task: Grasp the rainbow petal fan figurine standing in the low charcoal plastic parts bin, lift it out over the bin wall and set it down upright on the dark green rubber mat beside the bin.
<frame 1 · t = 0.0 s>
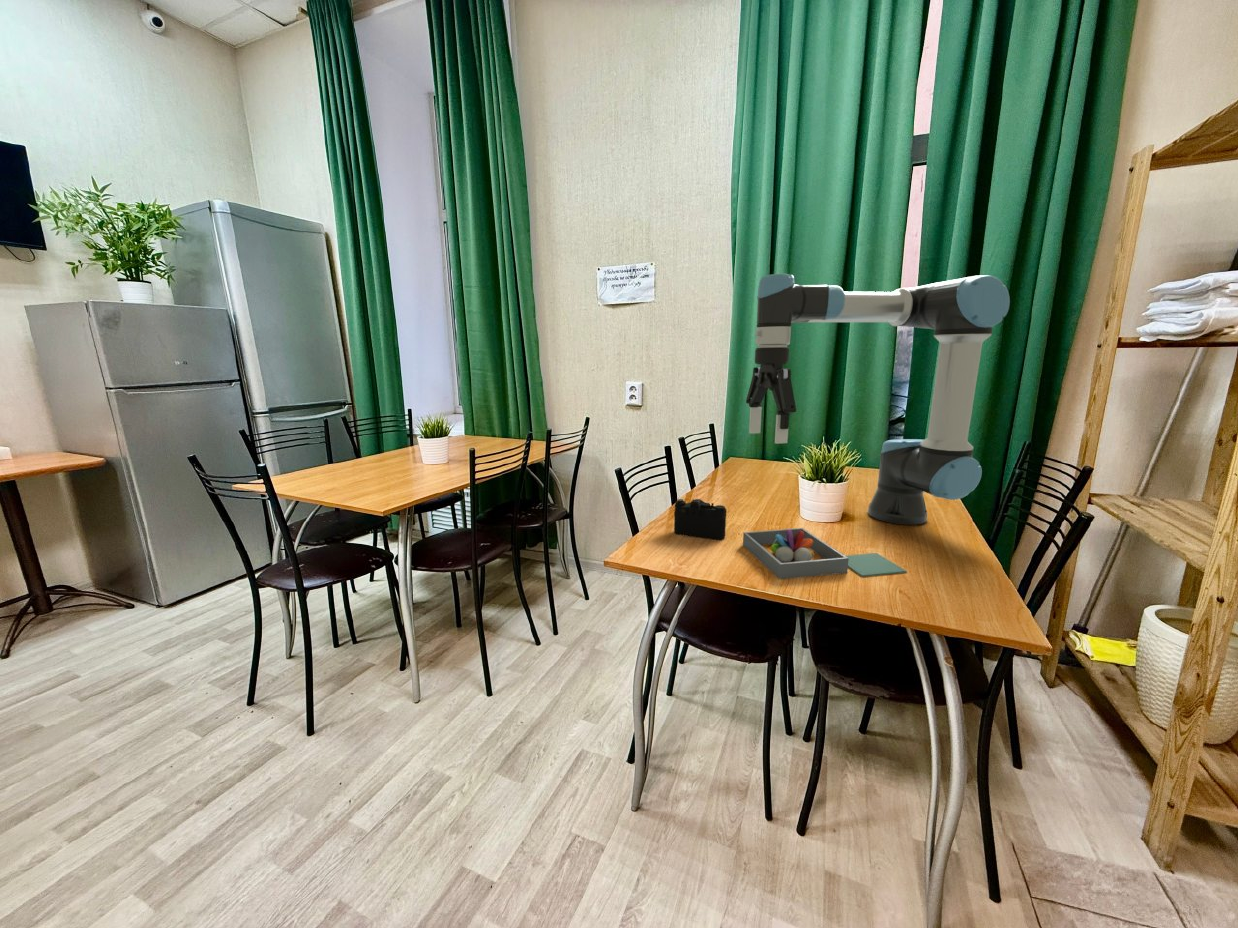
hand: (767, 438, 117), 28 cm above the table, fingers open, 13 cm apart
mat: (869, 565, 112), on the table
bin: (791, 558, 116), on the table
rainbow petal fan figurine: (791, 559, 116), resting in bin
camera: (702, 532, 134), on the table
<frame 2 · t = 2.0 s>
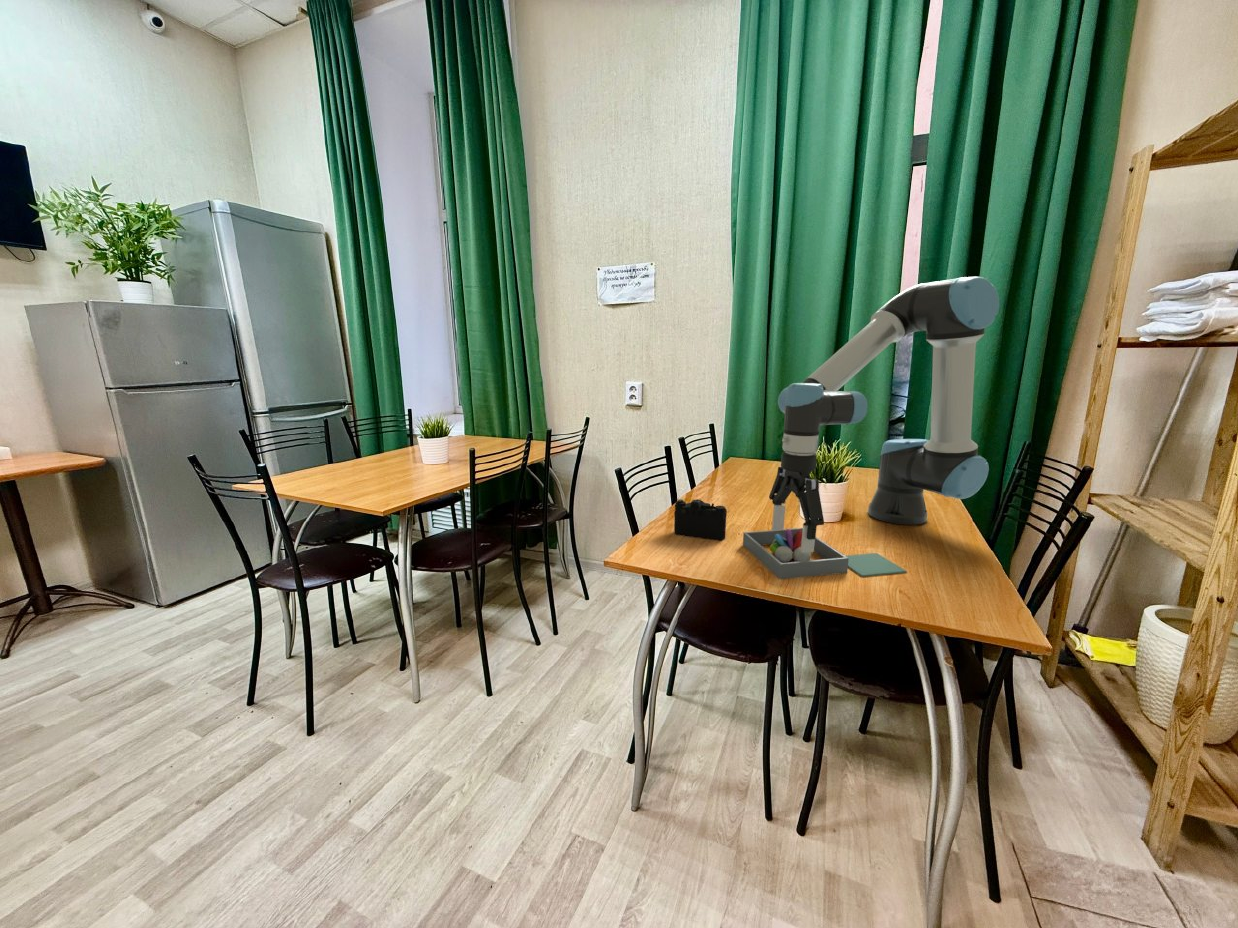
hand: (791, 540, 115), 5 cm above the table, fingers open, 13 cm apart
nothing on the table moved.
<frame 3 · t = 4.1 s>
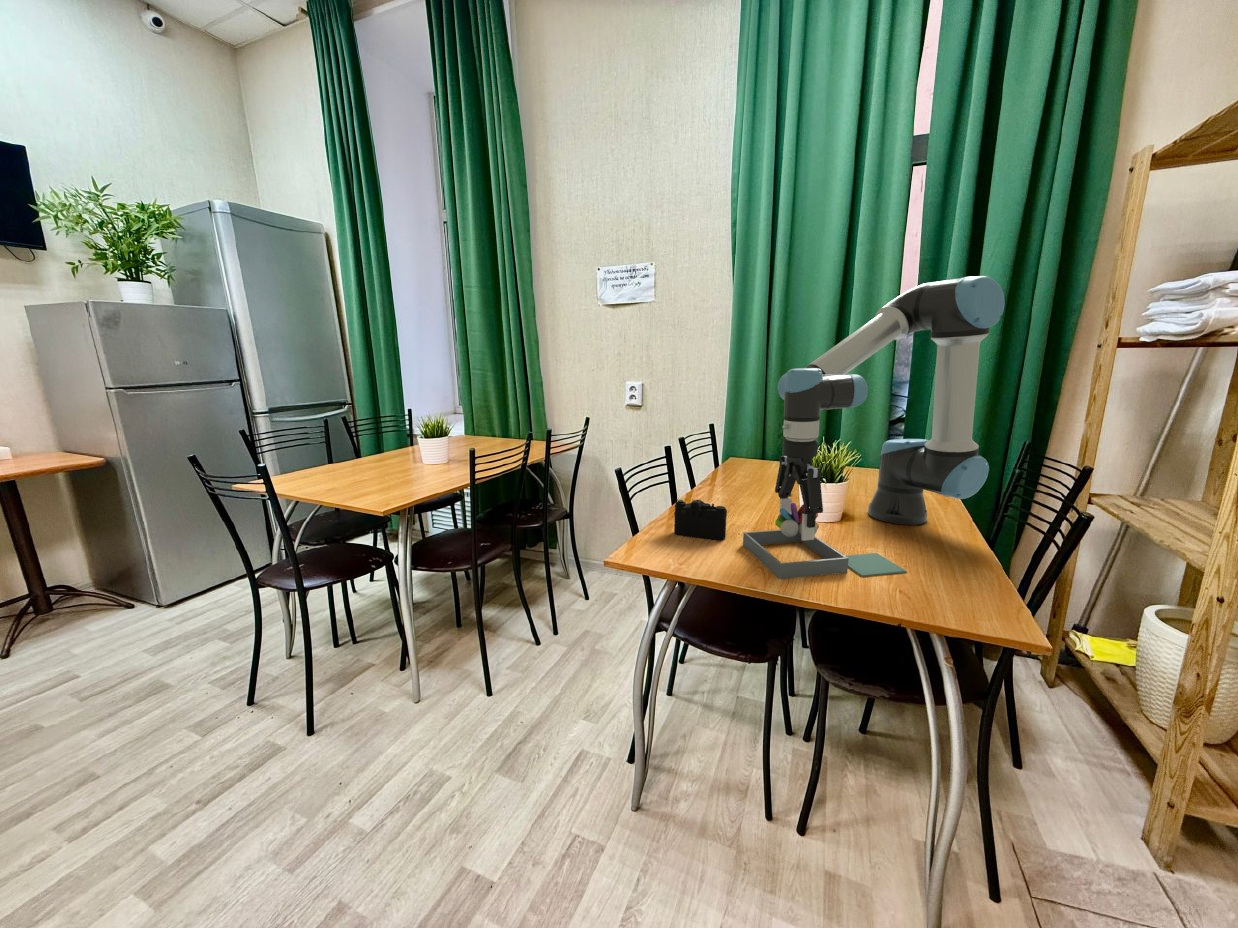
hand: (795, 531, 115), 7 cm above the table, fingers closed on rainbow petal fan figurine, 10 cm apart
rainbow petal fan figurine: (796, 533, 115), point 6 cm above the table, touching gripper
everything else where it was.
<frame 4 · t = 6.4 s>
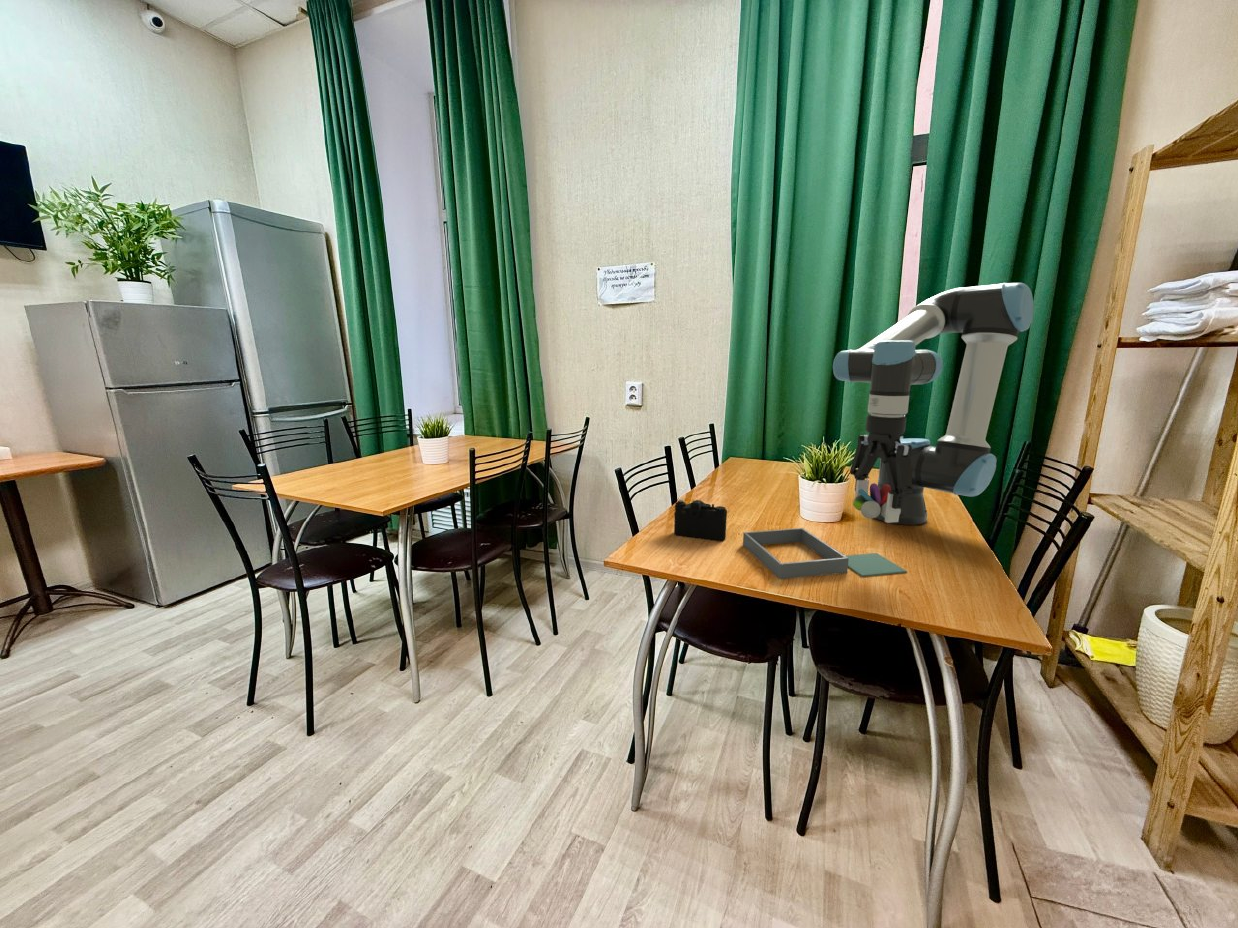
hand: (875, 514, 109), 12 cm above the table, fingers closed on rainbow petal fan figurine, 10 cm apart
rainbow petal fan figurine: (875, 515, 109), point 12 cm above the table, touching gripper
everything else where it was.
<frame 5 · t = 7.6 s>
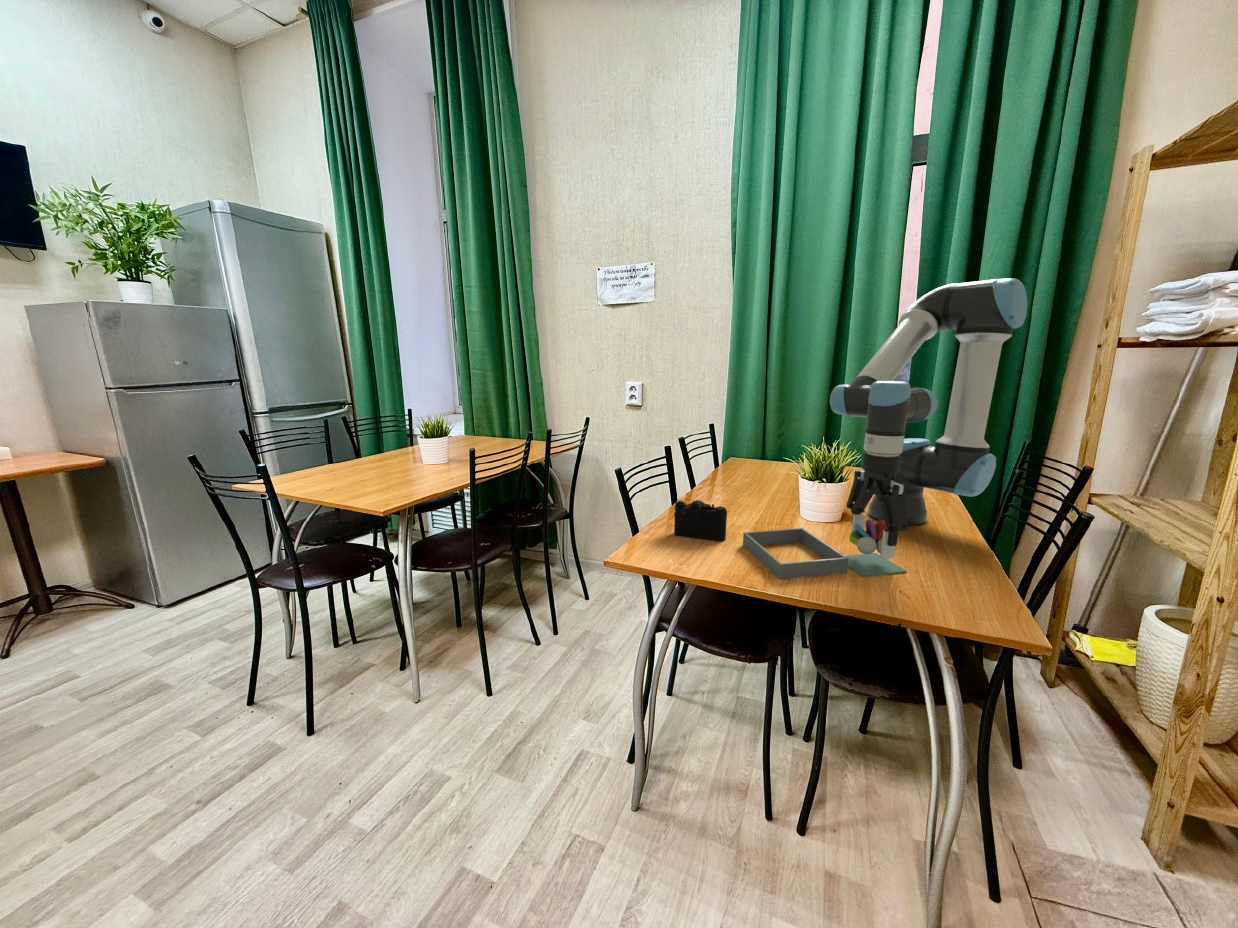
hand: (870, 548, 111), 4 cm above the table, fingers closed on rainbow petal fan figurine, 10 cm apart
rainbow petal fan figurine: (871, 550, 111), point 4 cm above the table, touching gripper
when the fingers open (1 cm above the table, at t = 8.8 s): rainbow petal fan figurine stays where it is, resting on mat.
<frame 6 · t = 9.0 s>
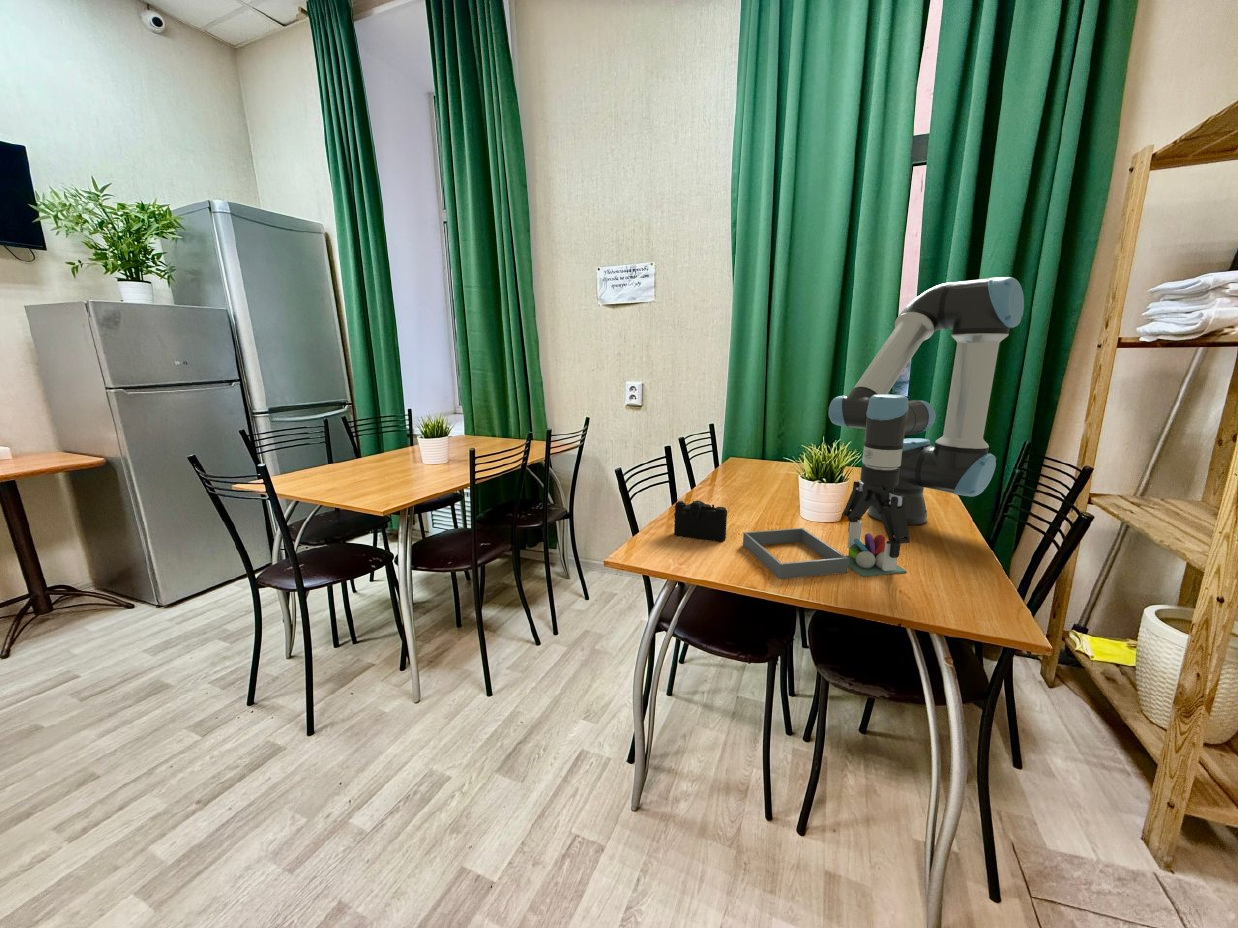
hand: (870, 558, 112), 2 cm above the table, fingers open, 12 cm apart
rainbow petal fan figurine: (870, 564, 112), resting on mat
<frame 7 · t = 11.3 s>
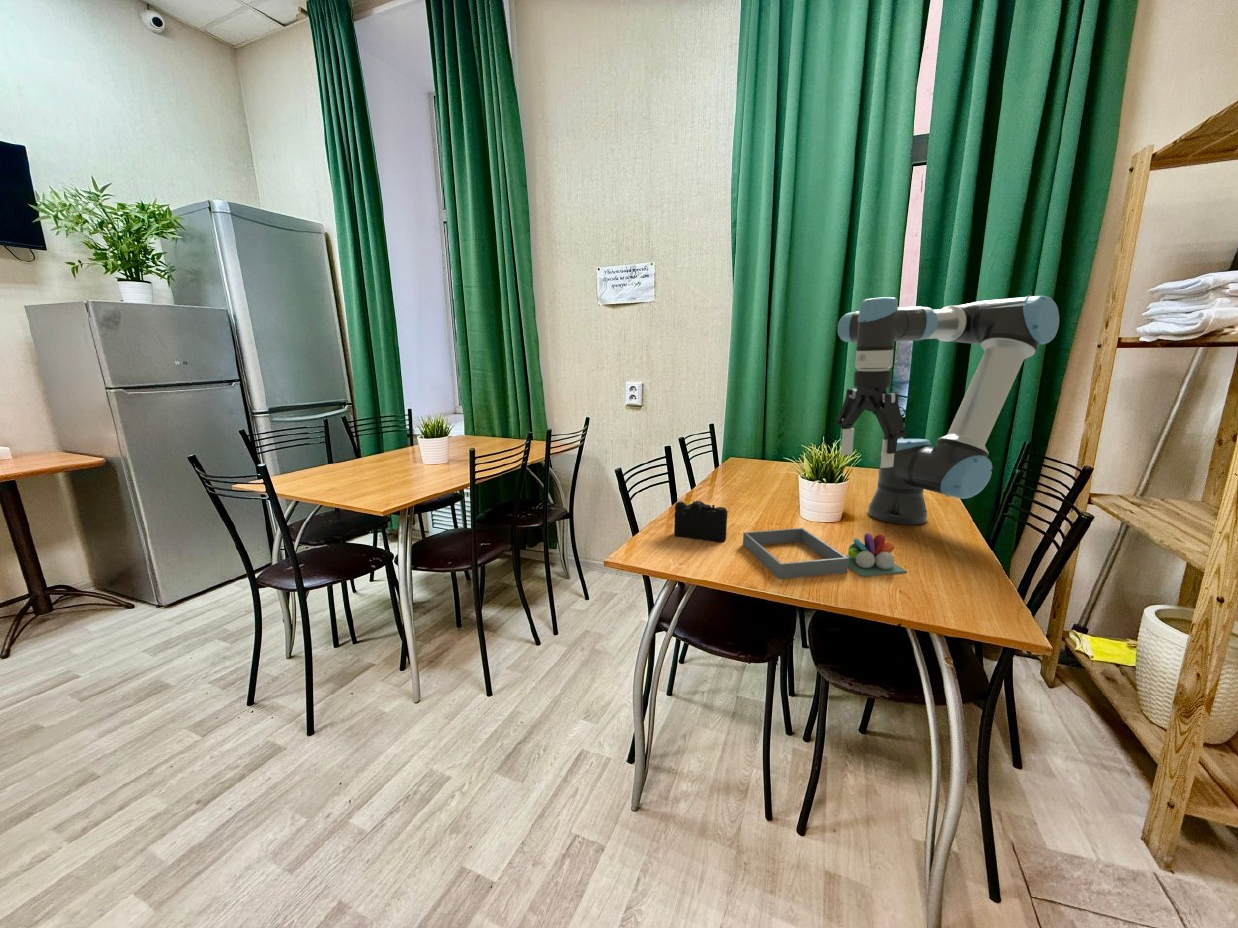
hand: (865, 460, 116), 23 cm above the table, fingers open, 13 cm apart
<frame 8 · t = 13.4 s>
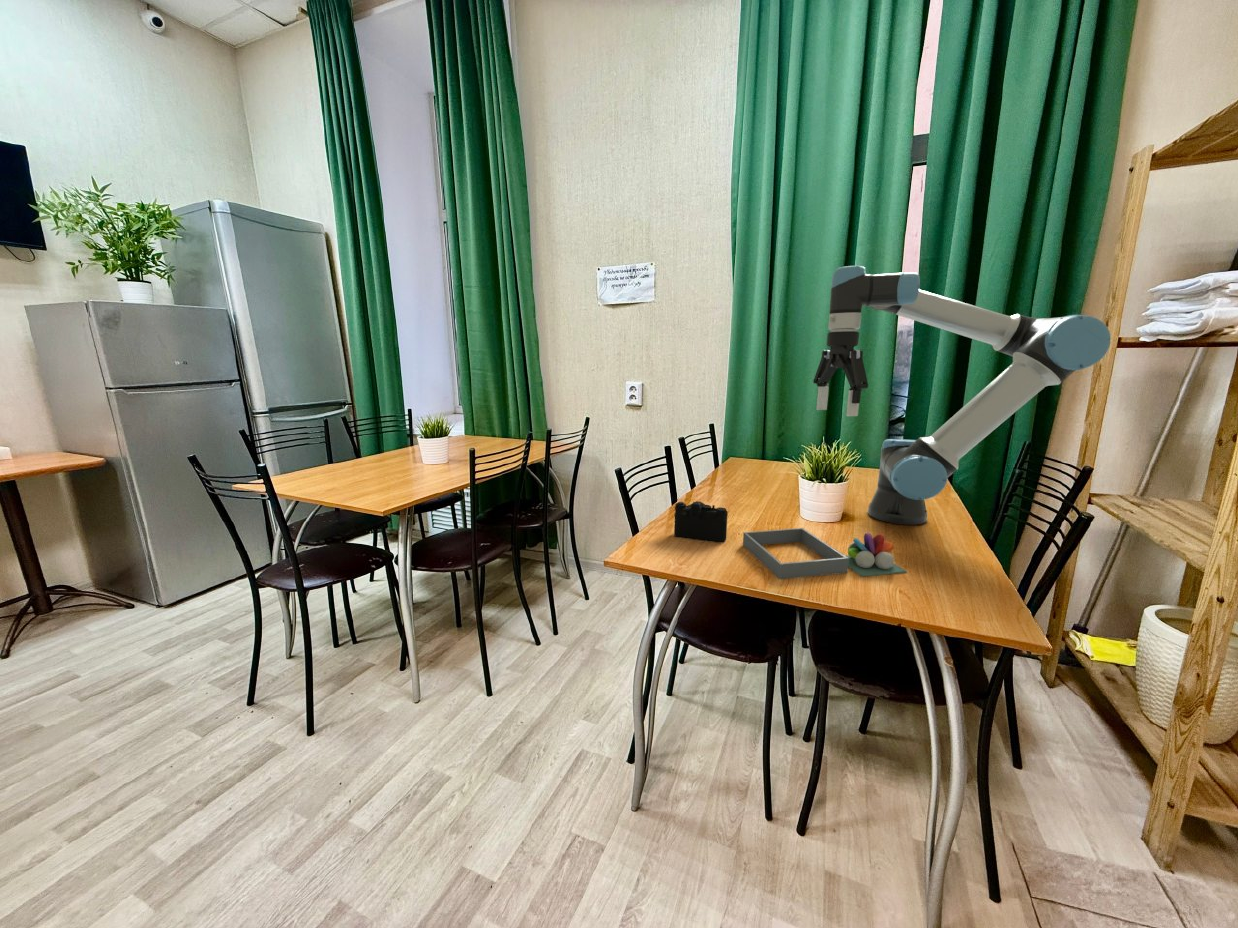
hand: (836, 413, 131), 32 cm above the table, fingers open, 13 cm apart
at the end: rainbow petal fan figurine inside the target area on the mat (0.1 cm from its centre), point 0.2 cm above the mat's base; rainbow petal fan figurine tilted 0°; the gripper is holding nothing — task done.
